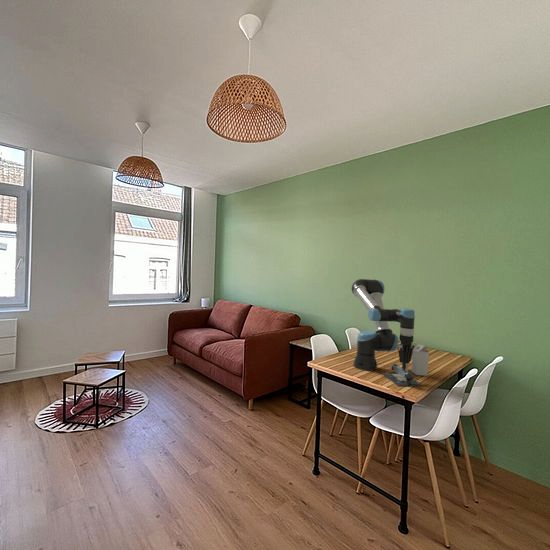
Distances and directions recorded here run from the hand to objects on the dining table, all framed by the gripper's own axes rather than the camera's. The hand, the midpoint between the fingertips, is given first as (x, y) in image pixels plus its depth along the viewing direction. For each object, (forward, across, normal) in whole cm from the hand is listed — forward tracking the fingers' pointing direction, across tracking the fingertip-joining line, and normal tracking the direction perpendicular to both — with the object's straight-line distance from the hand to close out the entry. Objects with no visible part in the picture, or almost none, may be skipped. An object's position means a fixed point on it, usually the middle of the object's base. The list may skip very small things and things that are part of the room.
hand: (404, 373), depth 174 cm
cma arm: (-1, +4, +1) cm, 4 cm away
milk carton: (+4, -19, -3) cm, 19 cm away
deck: (+3, +4, +1) cm, 5 cm away
